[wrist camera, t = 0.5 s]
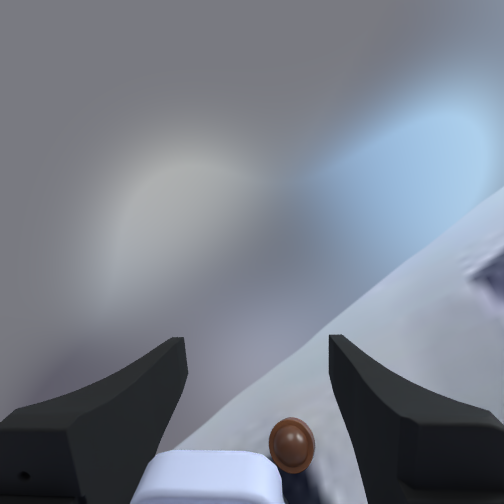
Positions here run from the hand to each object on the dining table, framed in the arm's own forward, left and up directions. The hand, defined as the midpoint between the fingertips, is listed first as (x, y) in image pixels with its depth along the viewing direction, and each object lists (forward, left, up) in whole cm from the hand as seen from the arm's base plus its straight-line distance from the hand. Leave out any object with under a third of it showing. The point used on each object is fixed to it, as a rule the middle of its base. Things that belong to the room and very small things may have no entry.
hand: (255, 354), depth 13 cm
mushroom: (-7, +3, -27) cm, 28 cm away
